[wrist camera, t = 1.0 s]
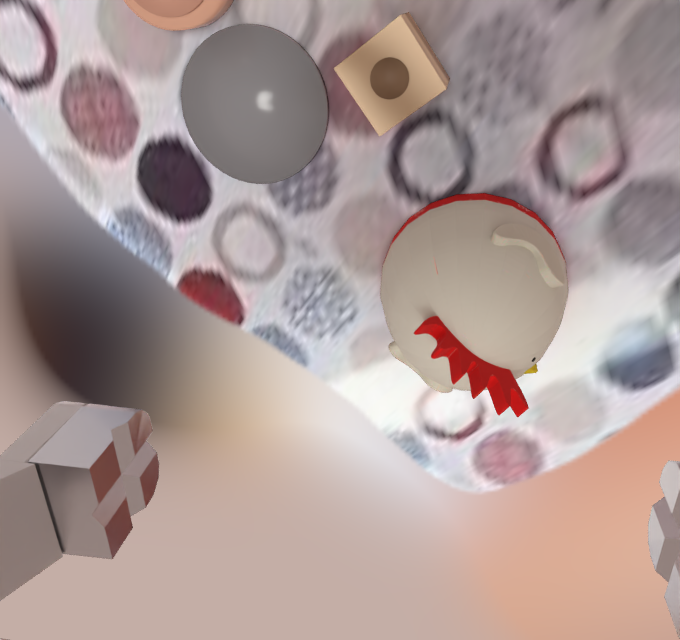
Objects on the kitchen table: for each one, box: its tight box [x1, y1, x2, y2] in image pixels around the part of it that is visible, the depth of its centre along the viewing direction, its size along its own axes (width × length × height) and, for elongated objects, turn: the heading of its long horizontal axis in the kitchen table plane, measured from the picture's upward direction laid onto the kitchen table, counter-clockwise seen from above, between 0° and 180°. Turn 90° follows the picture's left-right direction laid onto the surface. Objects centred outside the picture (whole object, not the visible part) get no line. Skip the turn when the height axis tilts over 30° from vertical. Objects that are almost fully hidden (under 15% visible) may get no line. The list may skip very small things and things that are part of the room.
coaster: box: [181, 24, 329, 184], centre depth 45 cm, size 11×11×1 cm
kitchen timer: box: [380, 193, 568, 417], centre depth 41 cm, size 14×14×15 cm
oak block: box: [334, 12, 450, 136], centre depth 40 cm, size 5×5×5 cm
